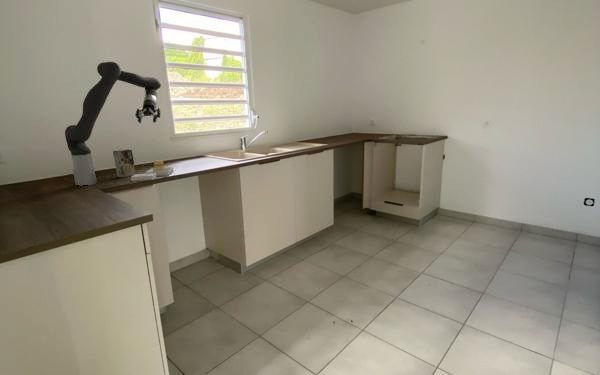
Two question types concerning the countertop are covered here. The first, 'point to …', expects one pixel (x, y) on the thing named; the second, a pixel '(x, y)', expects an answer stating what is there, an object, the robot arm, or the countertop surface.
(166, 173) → the tray
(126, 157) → the coffee box
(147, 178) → the fuse holder
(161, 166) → the fuse
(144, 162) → the countertop surface
